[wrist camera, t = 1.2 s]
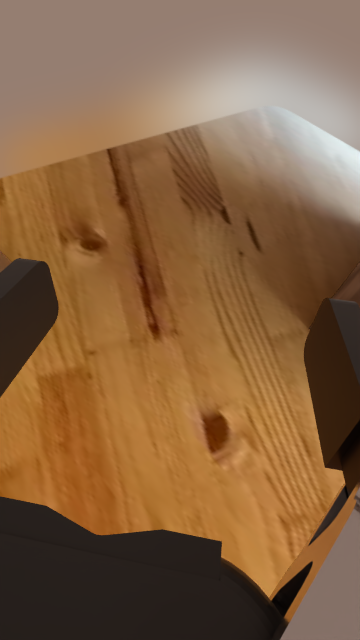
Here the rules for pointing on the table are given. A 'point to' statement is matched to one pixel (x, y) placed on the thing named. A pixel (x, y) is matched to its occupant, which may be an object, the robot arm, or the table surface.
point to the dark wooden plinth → (350, 288)
